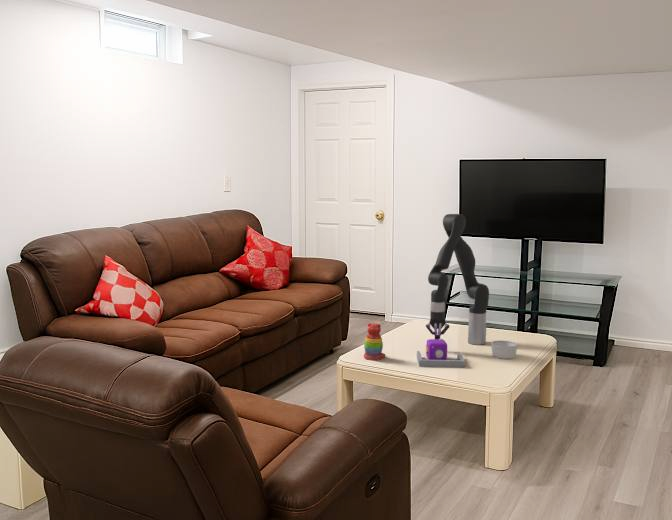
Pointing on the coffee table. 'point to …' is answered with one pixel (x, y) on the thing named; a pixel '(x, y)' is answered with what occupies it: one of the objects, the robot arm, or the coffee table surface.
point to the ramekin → (504, 349)
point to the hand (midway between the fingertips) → (437, 342)
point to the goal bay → (441, 361)
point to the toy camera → (436, 349)
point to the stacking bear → (373, 343)
